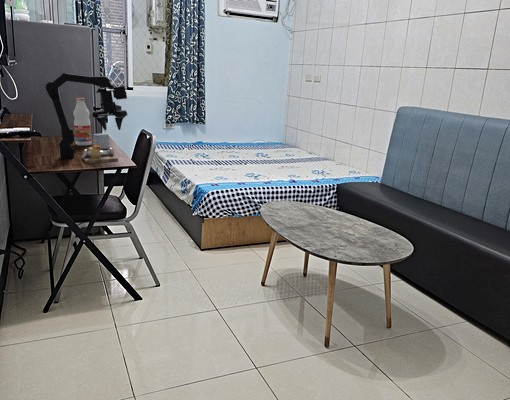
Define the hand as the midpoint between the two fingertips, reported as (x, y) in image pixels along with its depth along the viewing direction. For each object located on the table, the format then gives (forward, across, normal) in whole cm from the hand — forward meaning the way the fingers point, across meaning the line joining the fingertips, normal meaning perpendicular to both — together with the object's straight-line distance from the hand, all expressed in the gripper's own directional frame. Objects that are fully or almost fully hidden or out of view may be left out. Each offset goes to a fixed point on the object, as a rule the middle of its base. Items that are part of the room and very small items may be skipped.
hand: (112, 129), depth 237 cm
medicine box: (+14, +21, -14) cm, 29 cm away
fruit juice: (+13, +39, -19) cm, 45 cm away
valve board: (+14, +2, +12) cm, 18 cm away
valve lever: (+7, +1, +14) cm, 16 cm away
